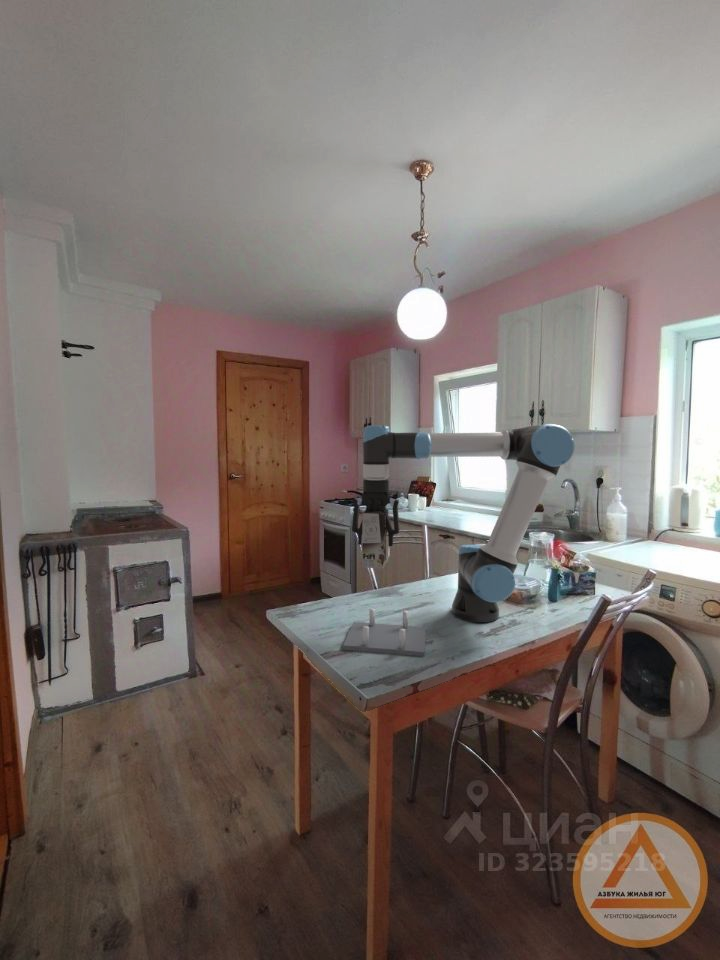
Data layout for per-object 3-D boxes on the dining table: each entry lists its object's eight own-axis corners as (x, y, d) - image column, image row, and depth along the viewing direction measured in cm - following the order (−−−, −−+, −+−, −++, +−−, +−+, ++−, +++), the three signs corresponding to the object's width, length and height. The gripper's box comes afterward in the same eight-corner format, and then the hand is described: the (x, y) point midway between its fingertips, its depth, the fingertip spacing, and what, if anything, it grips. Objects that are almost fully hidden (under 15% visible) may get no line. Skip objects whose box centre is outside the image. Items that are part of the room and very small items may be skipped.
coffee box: (383, 569, 126) (383, 513, 125) (361, 567, 128) (361, 512, 126) (388, 560, 135) (389, 508, 134) (368, 559, 137) (368, 507, 135)
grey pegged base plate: (425, 631, 133) (425, 611, 132) (424, 656, 117) (424, 633, 117) (353, 625, 136) (353, 606, 136) (343, 649, 121) (343, 627, 120)
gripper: (410, 478, 131) (409, 554, 133) (346, 477, 135) (346, 551, 137) (408, 480, 124) (407, 561, 126) (340, 479, 128) (340, 557, 130)
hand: (375, 556), depth 131 cm, fingers closed on coffee box, 6 cm apart
